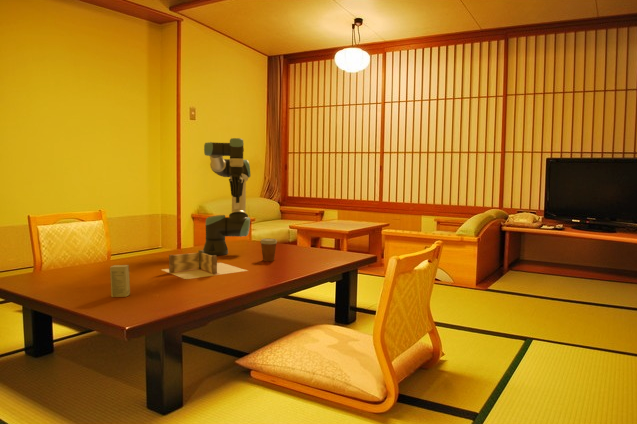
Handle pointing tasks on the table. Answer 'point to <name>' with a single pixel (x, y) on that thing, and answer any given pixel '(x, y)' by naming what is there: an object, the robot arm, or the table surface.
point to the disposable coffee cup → (268, 249)
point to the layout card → (198, 273)
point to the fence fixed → (185, 262)
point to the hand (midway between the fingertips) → (236, 208)
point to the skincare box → (120, 280)
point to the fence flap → (209, 263)
